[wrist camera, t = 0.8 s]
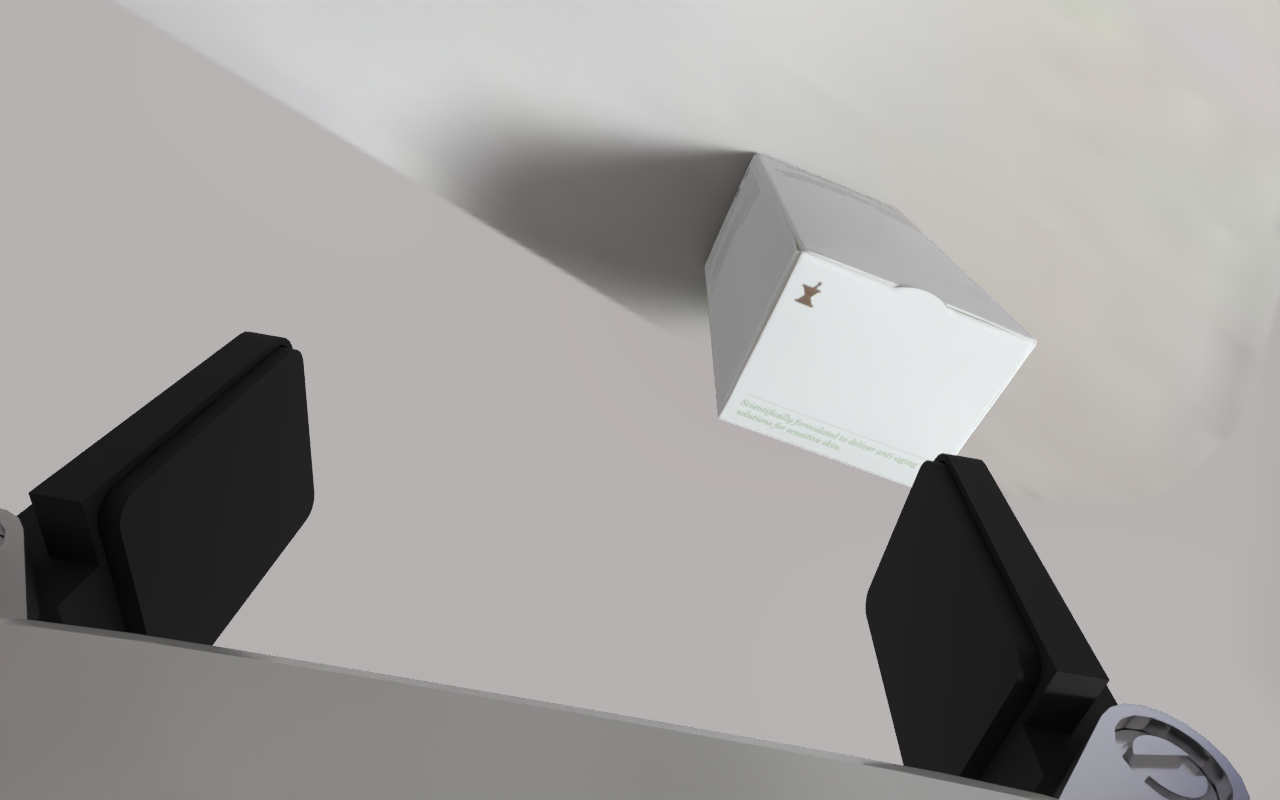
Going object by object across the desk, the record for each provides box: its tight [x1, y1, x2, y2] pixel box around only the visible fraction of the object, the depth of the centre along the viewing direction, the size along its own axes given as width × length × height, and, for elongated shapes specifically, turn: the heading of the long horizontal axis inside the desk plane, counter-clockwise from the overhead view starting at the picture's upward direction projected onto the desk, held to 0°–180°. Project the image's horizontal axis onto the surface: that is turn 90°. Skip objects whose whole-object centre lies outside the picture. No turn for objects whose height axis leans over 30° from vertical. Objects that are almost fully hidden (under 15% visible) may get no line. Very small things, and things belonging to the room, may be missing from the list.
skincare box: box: [705, 153, 1037, 488], centre depth 30 cm, size 8×7×16 cm
